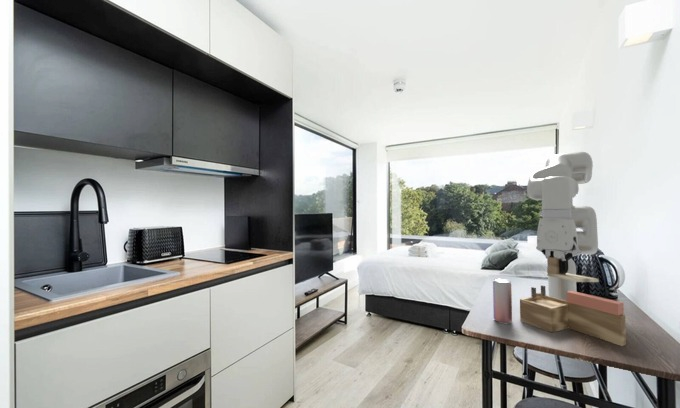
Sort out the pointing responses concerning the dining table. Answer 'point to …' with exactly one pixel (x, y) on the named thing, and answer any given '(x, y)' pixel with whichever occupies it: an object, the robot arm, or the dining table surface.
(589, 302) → the pink rectangular block
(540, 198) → the robot arm
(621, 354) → the dining table surface
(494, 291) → the beverage can
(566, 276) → the lid
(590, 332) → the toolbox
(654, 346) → the dining table surface
